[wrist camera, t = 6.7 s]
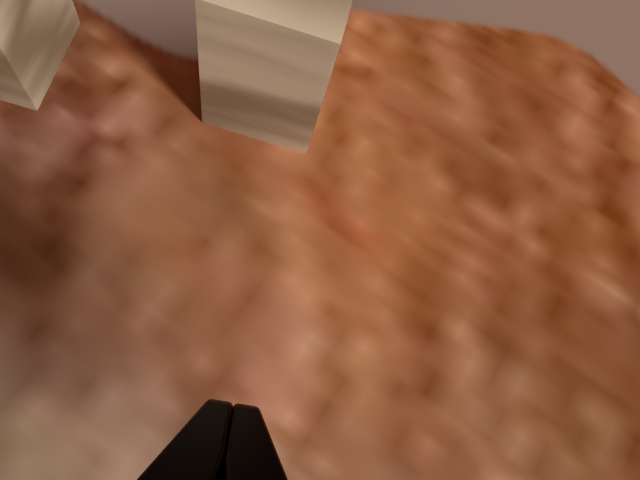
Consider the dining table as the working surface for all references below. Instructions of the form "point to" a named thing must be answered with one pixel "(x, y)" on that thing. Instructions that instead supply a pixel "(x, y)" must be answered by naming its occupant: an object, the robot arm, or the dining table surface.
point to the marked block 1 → (33, 47)
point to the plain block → (267, 65)
